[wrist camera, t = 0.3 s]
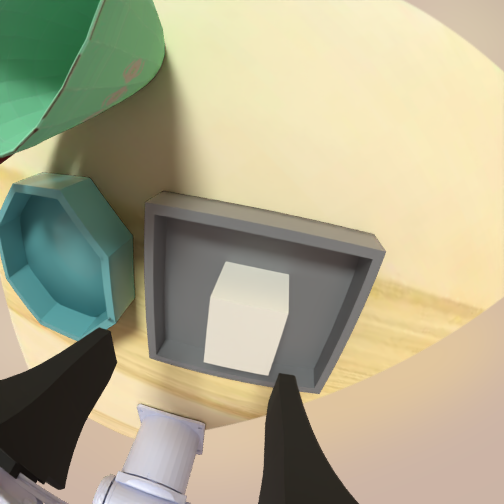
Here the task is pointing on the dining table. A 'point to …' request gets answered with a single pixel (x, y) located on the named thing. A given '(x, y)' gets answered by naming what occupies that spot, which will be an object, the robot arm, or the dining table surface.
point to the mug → (71, 63)
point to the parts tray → (259, 256)
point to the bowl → (66, 253)
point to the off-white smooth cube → (246, 318)
